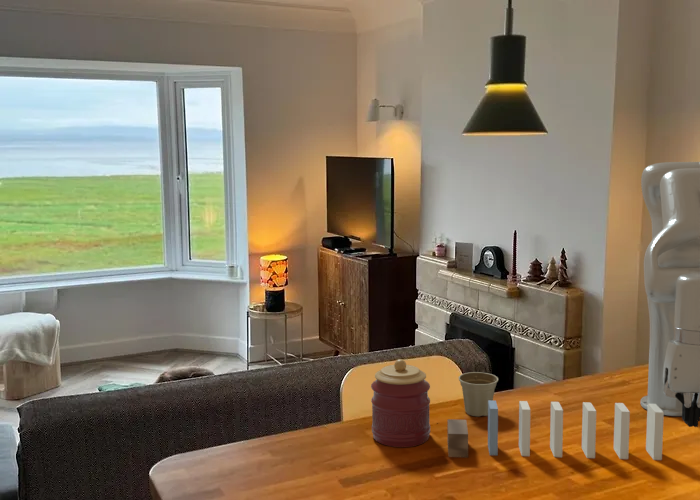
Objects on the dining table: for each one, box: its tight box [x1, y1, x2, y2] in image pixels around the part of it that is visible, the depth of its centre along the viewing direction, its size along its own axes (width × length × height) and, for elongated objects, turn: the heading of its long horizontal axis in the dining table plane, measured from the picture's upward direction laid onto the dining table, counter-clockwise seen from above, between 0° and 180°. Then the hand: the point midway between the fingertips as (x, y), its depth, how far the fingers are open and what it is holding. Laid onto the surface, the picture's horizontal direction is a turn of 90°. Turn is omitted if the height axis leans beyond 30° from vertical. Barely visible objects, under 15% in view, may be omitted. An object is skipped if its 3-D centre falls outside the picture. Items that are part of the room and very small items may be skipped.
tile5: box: [518, 400, 531, 457], centre depth 144 cm, size 2×5×10 cm, turn 173°
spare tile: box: [487, 400, 499, 456], centre depth 145 cm, size 2×5×10 cm, turn 173°
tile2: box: [613, 402, 631, 460], centre depth 142 cm, size 2×5×10 cm, turn 174°
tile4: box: [549, 401, 564, 458], centre depth 143 cm, size 2×5×10 cm, turn 174°
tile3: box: [581, 401, 597, 459], centre depth 142 cm, size 2×5×10 cm, turn 173°
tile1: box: [645, 404, 665, 461], centre depth 141 cm, size 2×5×10 cm, turn 173°
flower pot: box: [458, 371, 499, 417], centre depth 167 cm, size 9×9×9 cm
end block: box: [447, 418, 469, 458], centre depth 146 cm, size 4×8×5 cm, turn 173°
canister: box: [370, 358, 431, 448], centre depth 152 cm, size 13×13×18 cm
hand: (690, 424), depth 140 cm, fingers closed
